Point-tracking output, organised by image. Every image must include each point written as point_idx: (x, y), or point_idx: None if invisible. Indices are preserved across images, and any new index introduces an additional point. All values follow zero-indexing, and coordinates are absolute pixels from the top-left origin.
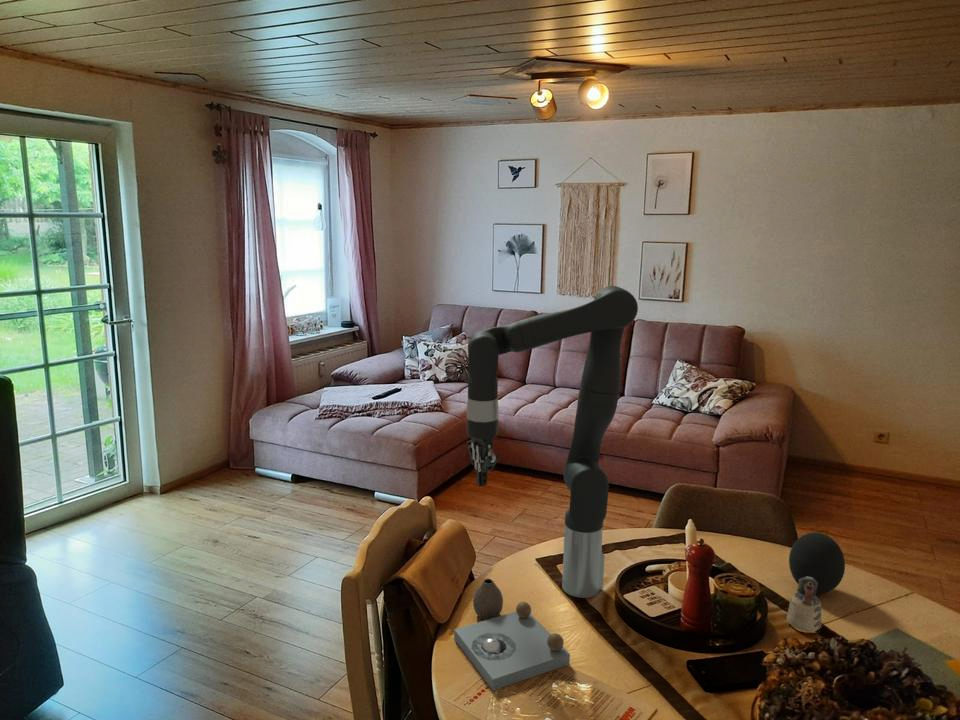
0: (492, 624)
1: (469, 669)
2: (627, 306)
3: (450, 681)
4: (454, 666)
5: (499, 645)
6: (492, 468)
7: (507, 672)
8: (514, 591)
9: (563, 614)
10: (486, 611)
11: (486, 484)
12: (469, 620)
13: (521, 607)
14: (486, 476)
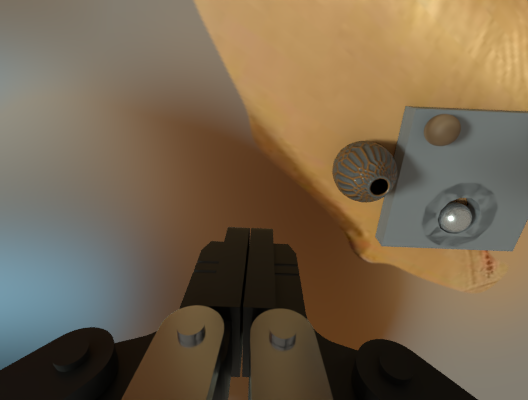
0: (412, 190)
1: None
2: None
3: (444, 274)
4: (424, 259)
5: (470, 212)
6: (454, 392)
7: (519, 228)
8: (316, 70)
9: (448, 19)
10: (383, 186)
11: (272, 230)
12: None
13: (451, 142)
14: (301, 291)
